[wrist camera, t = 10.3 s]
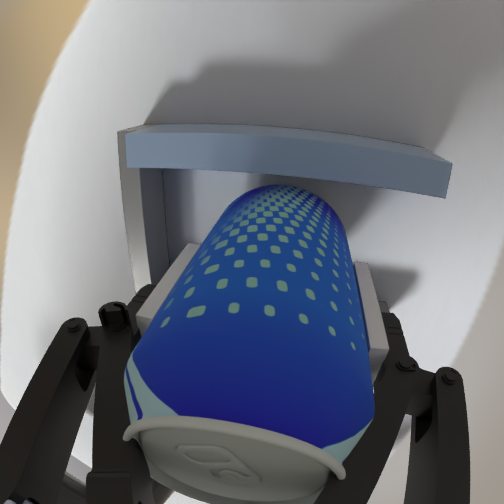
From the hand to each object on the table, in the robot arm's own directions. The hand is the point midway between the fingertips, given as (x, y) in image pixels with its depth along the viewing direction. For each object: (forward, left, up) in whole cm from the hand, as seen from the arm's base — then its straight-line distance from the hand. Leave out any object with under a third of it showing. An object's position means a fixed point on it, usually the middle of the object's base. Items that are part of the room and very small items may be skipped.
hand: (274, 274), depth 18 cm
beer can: (0, 0, -5) cm, 5 cm away
